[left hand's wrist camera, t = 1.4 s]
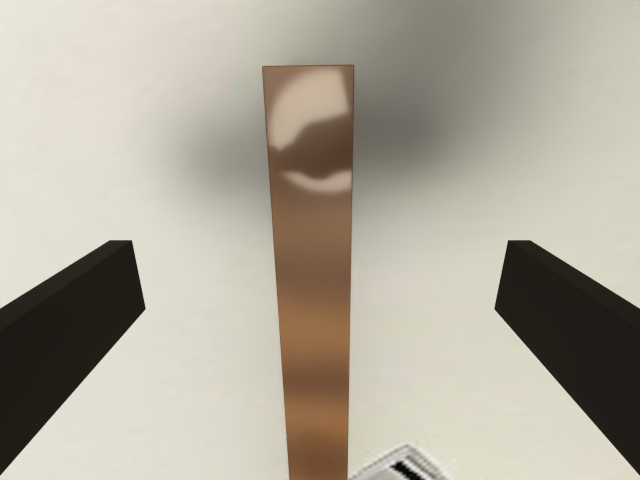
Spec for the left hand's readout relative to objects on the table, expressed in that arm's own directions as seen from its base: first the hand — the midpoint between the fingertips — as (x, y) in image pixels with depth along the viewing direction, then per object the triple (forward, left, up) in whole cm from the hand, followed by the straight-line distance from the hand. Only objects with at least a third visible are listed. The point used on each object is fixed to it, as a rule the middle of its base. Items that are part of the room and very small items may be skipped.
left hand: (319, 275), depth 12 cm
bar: (+22, +24, -17) cm, 37 cm away
